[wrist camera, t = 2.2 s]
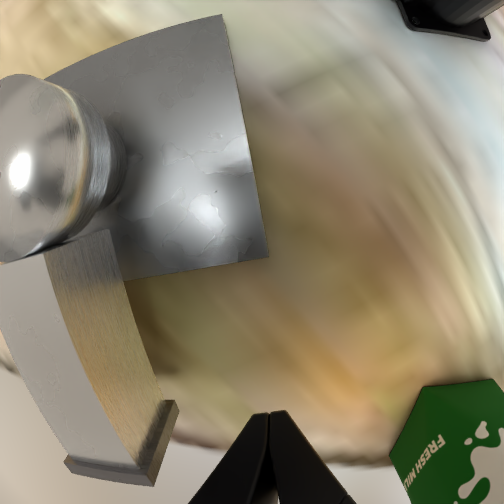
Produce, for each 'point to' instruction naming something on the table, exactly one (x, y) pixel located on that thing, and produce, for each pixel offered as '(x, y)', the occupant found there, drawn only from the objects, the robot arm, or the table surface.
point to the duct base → (173, 151)
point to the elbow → (72, 288)
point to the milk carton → (454, 445)
